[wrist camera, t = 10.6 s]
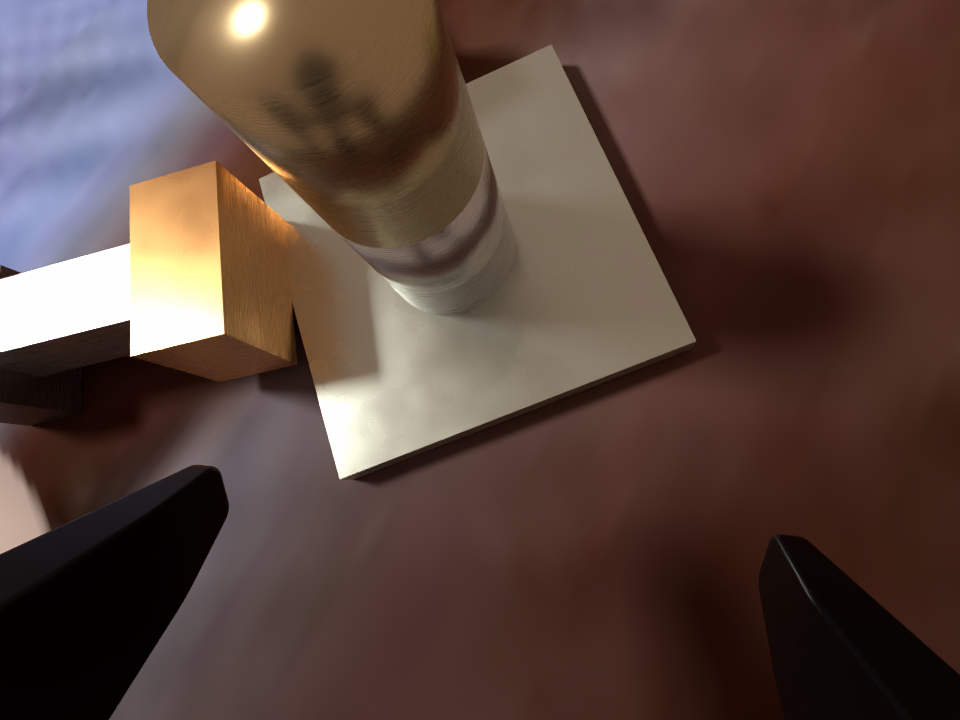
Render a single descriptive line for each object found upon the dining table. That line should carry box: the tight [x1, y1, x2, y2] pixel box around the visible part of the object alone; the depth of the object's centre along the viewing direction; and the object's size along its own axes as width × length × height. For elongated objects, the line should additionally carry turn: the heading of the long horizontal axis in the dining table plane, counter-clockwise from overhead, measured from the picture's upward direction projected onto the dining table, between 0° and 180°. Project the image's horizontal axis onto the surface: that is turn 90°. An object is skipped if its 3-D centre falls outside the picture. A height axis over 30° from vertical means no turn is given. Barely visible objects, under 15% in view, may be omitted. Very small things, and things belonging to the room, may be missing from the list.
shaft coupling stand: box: [0, 45, 696, 480], centre depth 20 cm, size 24×24×5 cm
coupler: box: [147, 0, 515, 315], centre depth 14 cm, size 4×4×11 cm
